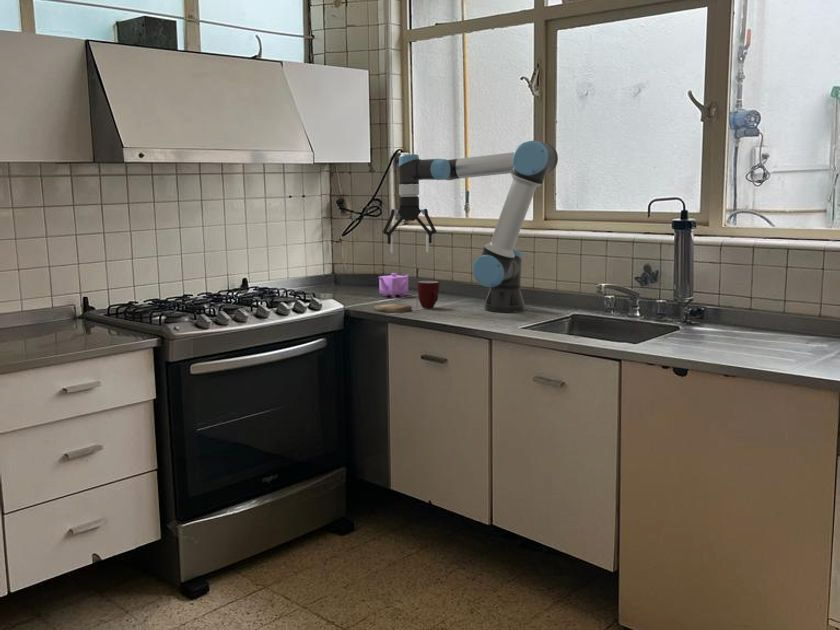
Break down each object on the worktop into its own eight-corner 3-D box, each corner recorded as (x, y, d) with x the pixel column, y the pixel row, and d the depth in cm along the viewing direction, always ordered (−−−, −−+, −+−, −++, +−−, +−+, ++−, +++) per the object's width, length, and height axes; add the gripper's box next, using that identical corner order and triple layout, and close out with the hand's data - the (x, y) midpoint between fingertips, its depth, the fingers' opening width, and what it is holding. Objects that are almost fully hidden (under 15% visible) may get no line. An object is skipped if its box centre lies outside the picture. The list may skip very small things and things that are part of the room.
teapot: (389, 300, 351) (390, 276, 349) (368, 296, 360) (368, 273, 358) (421, 296, 363) (421, 273, 362) (399, 293, 373) (399, 270, 371)
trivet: (417, 308, 328) (417, 305, 328) (403, 313, 315) (403, 310, 315) (383, 306, 333) (383, 302, 333) (368, 310, 320) (368, 307, 320)
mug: (446, 309, 328) (447, 283, 326) (429, 310, 323) (430, 284, 322) (429, 305, 336) (429, 280, 335) (412, 307, 331) (413, 281, 330)
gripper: (441, 195, 329) (441, 251, 332) (375, 196, 327) (376, 252, 330) (443, 195, 322) (443, 252, 325) (376, 196, 320) (377, 253, 323)
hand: (409, 252), depth 328 cm, fingers open, 13 cm apart
